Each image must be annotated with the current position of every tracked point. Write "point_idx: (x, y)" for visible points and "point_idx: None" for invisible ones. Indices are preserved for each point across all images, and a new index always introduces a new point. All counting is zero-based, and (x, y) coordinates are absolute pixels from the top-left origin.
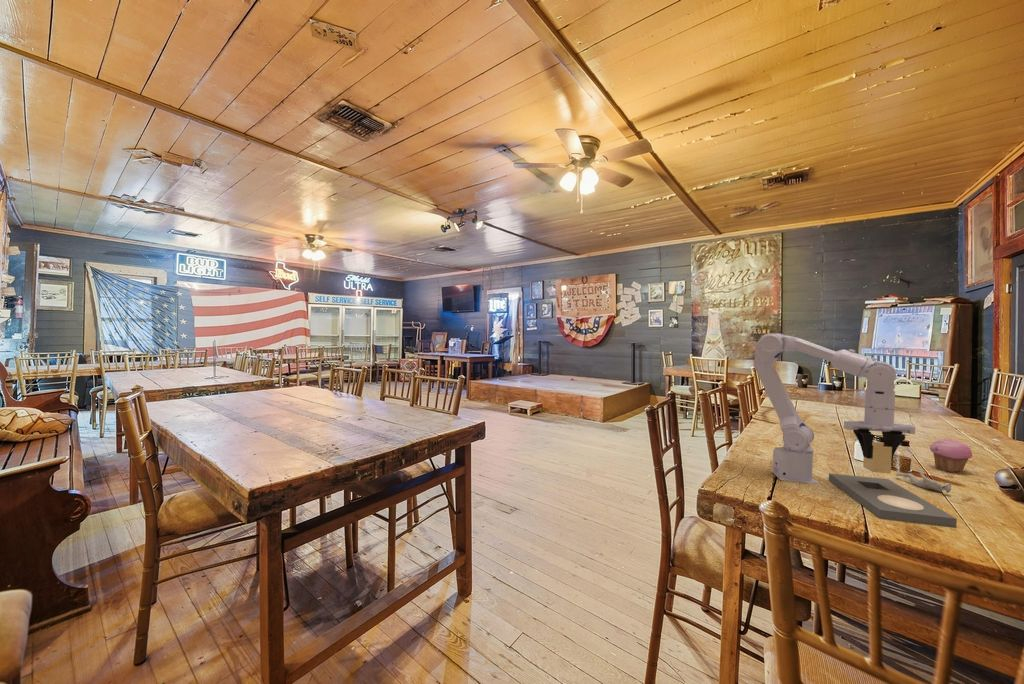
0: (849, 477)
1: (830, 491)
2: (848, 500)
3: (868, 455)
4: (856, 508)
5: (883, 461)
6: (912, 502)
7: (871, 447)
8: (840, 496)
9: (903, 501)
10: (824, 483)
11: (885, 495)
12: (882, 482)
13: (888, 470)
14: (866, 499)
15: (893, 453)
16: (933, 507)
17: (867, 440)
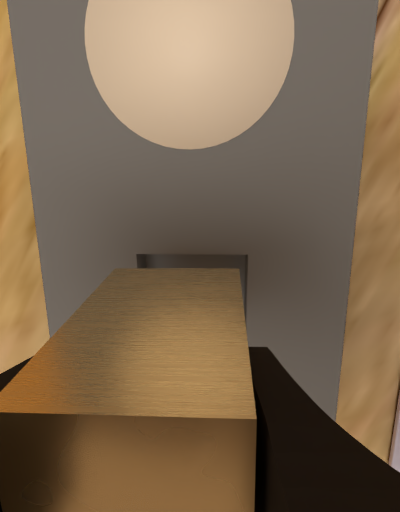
0: None
1: (391, 272)
2: (368, 164)
3: (271, 357)
4: (393, 47)
5: (147, 304)
6: (115, 62)
7: (266, 409)
8: (378, 212)
9: (160, 60)
10: (356, 378)
11: (213, 139)
12: None
13: (124, 276)
14: (369, 30)
15: (10, 372)
16: (32, 31)
17: (391, 500)
